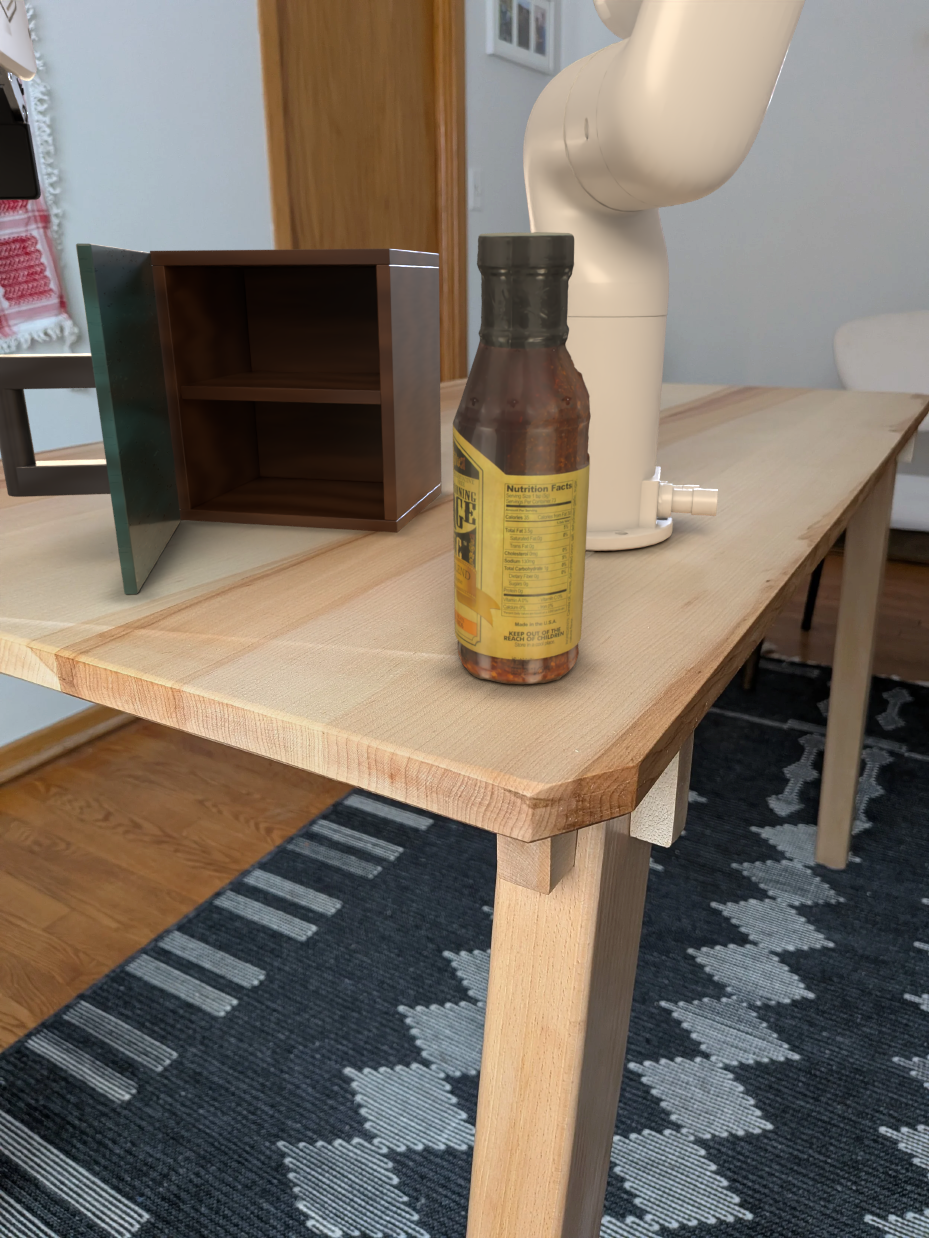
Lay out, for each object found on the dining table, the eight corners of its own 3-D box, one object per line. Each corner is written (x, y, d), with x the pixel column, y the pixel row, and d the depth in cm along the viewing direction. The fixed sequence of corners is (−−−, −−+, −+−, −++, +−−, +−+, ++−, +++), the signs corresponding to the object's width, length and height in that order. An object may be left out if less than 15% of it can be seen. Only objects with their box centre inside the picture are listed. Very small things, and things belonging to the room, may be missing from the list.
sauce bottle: (465, 638, 49) (464, 236, 42) (583, 645, 48) (602, 235, 41) (443, 690, 43) (437, 229, 36) (577, 699, 42) (598, 227, 35)
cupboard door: (12, 600, 54) (-54, 243, 47) (85, 524, 71) (44, 252, 64) (138, 594, 55) (90, 243, 48) (181, 521, 72) (150, 252, 65)
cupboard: (397, 533, 69) (389, 248, 62) (180, 521, 73) (149, 250, 66) (441, 493, 82) (439, 253, 75) (255, 485, 85) (236, 255, 78)
